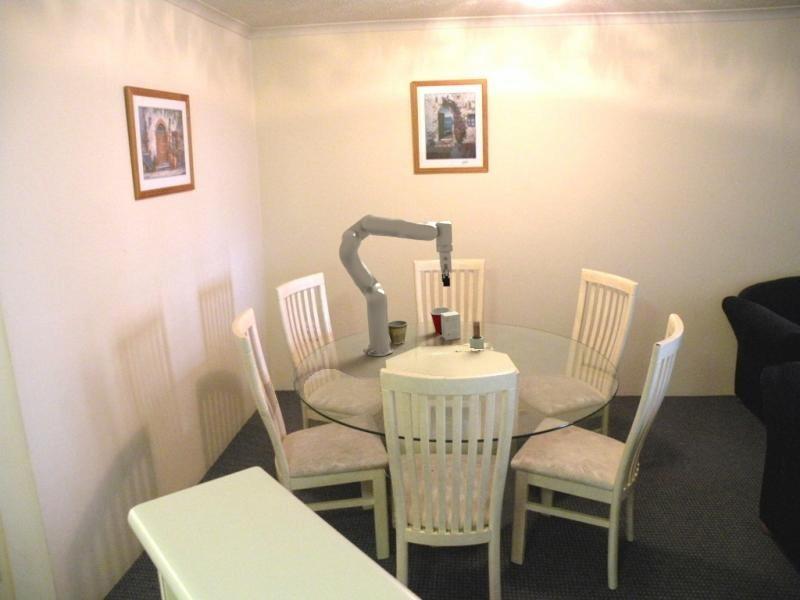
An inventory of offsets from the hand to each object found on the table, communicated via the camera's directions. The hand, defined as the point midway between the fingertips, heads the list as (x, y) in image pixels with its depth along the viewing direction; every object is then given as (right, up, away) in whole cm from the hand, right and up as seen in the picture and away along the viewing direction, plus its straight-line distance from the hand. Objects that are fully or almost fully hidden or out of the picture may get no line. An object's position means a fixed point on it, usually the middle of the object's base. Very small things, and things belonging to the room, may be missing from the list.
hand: (446, 284), depth 305 cm
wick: (+14, -29, -1) cm, 33 cm away
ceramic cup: (-22, -28, +18) cm, 40 cm away
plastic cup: (-1, -24, +29) cm, 38 cm away
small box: (+4, -27, +17) cm, 32 cm away
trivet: (+13, -30, 0) cm, 33 cm away
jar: (+14, -30, -1) cm, 33 cm away
